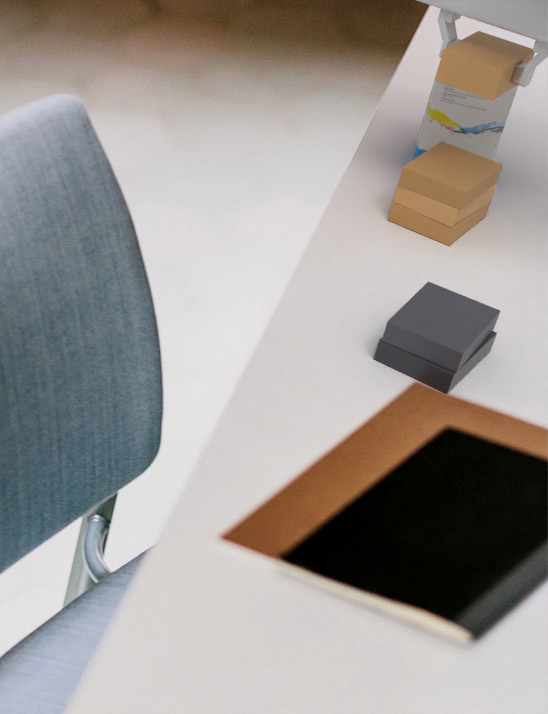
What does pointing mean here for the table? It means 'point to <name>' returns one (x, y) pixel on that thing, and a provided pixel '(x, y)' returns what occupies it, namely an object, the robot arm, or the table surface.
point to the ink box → (463, 120)
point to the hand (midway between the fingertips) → (483, 71)
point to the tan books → (444, 192)
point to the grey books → (438, 337)
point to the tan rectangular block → (482, 64)
